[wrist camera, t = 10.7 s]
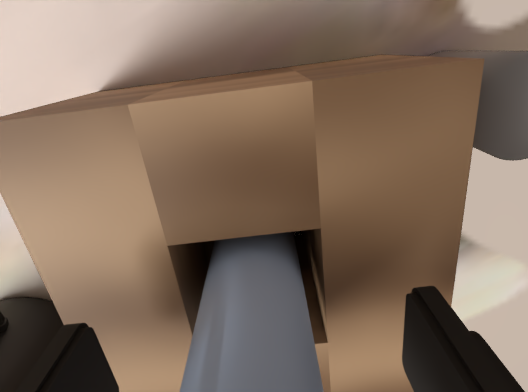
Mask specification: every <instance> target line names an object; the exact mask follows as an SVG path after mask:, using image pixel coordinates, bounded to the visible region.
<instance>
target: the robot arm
mask: <svg viewBox="0 0 528 392" xmlns="http://www.w3.org/2000/svg"><path fill="white" fill-rule="evenodd" d="M402 364H403V368H404V371H405V373H406V376H407V378H408V380H409V382H410V384H411V387H412V389H413V391H414V392H525V391H524V390H523V389H522V388H521V386H520V385H519V384H518V382H517V381H516V380H515V379H514V377H513V376H512V375H511V373H510V372H509V371H508V370H507V368H506V367H505V366H504V365H503V363H502V362H501V361H500V359H499V358H498V357H497V355H496V354H495V353H494V352H493V350H492V349H491V348H490V346H489V345H488V344H487V343H486V341H485V340H484V339H483V338H482V337H481V336H480V334H478V333H477V332H475V331H468V329H467V328H466V326H465V325H464V324H463V322H462V321H461V320H460V318H459V317H458V316H457V314H456V313H455V312H454V310H453V309H452V308H451V306H450V305H449V304H448V302H447V301H446V300H445V298H444V297H443V296H442V294H441V293H440V292H439V290H438V289H437V288H436V287H435V286H425V287H415V288H413V289H412V292H411V293H408V294H407V295H406V303H405V318H404V334H403V350H402ZM15 392H119V386H118V384H117V382H116V379H115V377H114V375H113V372H112V370H111V368H110V366H109V363H108V361H107V359H106V356H105V354H104V352H103V350H102V347H101V345H100V343H99V340H98V338H97V336H96V334H95V331H94V329H93V328H92V327H89V326H88V325H87V324H86V323H75V324H66V325H63V326H62V327H61V328H60V329H59V331H58V332H57V333H56V335H55V336H54V338H53V339H52V340H51V342H50V343H49V345H48V346H47V347H46V349H45V350H44V352H43V353H42V354H41V356H40V357H39V359H38V360H37V361H36V363H35V364H34V366H33V367H32V368H31V370H30V371H29V373H28V374H27V375H26V377H25V378H24V380H23V381H22V382H21V384H20V385H19V387H18V388H17V389H16V391H15Z"/></svg>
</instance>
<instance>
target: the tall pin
mask: <svg viewBox="0 0 528 392" xmlns="http://www.w3.org/2000/svg"><path fill="white" fill-rule="evenodd" d="M180 392H324V390H323V385H322V380H321V375H320V369H319V364H318V359H317V354H316V348H315V343H314V338H313V333H312V327H311V322H310V317H309V312H308V306H307V301H306V296H305V291H304V285H303V280H302V275H301V269H300V264H299V259H298V254H297V248H296V243H295V238H294V233H293V232H284V233H276V234H267V235H258V236H249V237H240V238H231V239H223V240H215V241H214V245H213V250H212V254H211V258H210V263H209V267H208V271H207V276H206V280H205V284H204V288H203V293H202V297H201V301H200V306H199V310H198V314H197V319H196V323H195V327H194V332H193V336H192V340H191V345H190V349H189V353H188V358H187V362H186V366H185V371H184V375H183V379H182V383H181V388H180Z"/></svg>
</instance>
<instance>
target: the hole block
mask: <svg viewBox="0 0 528 392" xmlns="http://www.w3.org/2000/svg"><path fill="white" fill-rule="evenodd" d="M483 67H484V58H457V57H430V56H403V55H375V56H367V57H360V58H352V59H344V60H337V61H329V62H321V63H314V64H306V65H298V66H291V67H283V68H276V69H268V70H260V71H253V72H245V73H237V74H230V75H222V76H215V77H207V78H199V79H192V80H184V81H176V82H169V83H161V84H153V85H146V86H138V87H131V88H123V89H115V90H108V91H100V92H95V93H91V94H87V95H83V96H79V97H75V98H72V99H68V100H64V101H60V102H56V103H52V104H48V105H44V106H41V107H37V108H33V109H29V110H25V111H21V112H17V113H14V114H10V115H6V116H2V117H0V193H1V195H2V197H3V199H4V202H5V204H6V206H7V208H8V210H9V212H10V214H11V216H12V218H13V220H14V222H15V224H16V226H17V229H18V231H19V233H20V235H21V237H22V239H23V241H24V243H25V245H26V247H27V249H28V251H29V253H30V256H31V258H32V260H33V262H34V264H35V266H36V268H37V270H38V272H39V274H40V276H41V278H42V280H43V283H44V285H45V287H46V289H47V291H48V293H49V295H50V297H51V299H52V301H53V303H54V305H55V307H56V310H57V312H58V314H59V316H60V318H61V320H62V322H63V324H64V325H66V324H75V323H86V324H87V325H88V326H89V327H92V328H93V329H94V331H95V334H96V336H97V338H98V340H99V343H100V345H101V347H102V350H103V352H104V354H105V356H106V359H107V361H108V363H109V366H110V368H111V370H112V372H113V375H114V377H115V379H116V382H117V384H118V386H119V392H180V388H181V383H182V379H183V375H184V371H185V366H186V362H187V358H188V353H189V349H190V345H191V340H192V336H193V332H194V327H195V323H196V319H197V314H198V310H199V306H200V301H201V297H202V293H203V288H204V284H205V280H206V276H207V271H208V267H209V263H210V258H211V254H212V250H213V245H214V241H215V240H223V239H231V238H240V237H249V236H258V235H267V234H276V233H284V232H293V231H302V235H301V236H294V238H295V243H296V248H297V254H298V259H299V264H300V269H301V275H302V280H303V285H304V291H305V296H306V301H307V306H308V312H309V317H310V322H311V327H312V333H313V338H314V343H315V348H316V354H317V359H318V364H319V369H320V375H321V380H322V385H323V390H324V392H414V391H413V389H412V387H411V384H410V382H409V380H408V378H407V376H406V373H405V371H404V368H403V364H402V350H403V334H404V318H405V303H406V295H407V294H408V293H411V292H412V289H413V288H415V287H425V286H435V287H436V288H437V289H438V290H439V292H440V293H441V294H442V296H443V297H444V298H445V300H446V301H447V302H448V304H449V305H450V306H451V303H452V296H453V289H454V281H455V274H456V266H457V259H458V252H459V244H460V237H461V229H462V222H463V215H464V207H465V199H466V192H467V185H468V177H469V170H470V162H471V155H472V148H473V141H474V133H475V126H476V118H477V111H478V104H479V96H480V89H481V81H482V74H483Z"/></svg>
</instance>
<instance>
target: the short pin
mask: <svg viewBox="0 0 528 392" xmlns="http://www.w3.org/2000/svg"><path fill="white" fill-rule="evenodd" d="M430 57H457V58H484V67H483V74H482V81H481V89H480V96H479V104H478V111H477V118H476V126H475V133H474V141H473V147H474V148H476V149H479V150H481V151H483V152H485V153H487V154H490V155H492V156H494V157H497V158H499V159H504V160H522V159H526V158H528V51H441V52H437V53H434V54H432V55H430Z"/></svg>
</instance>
